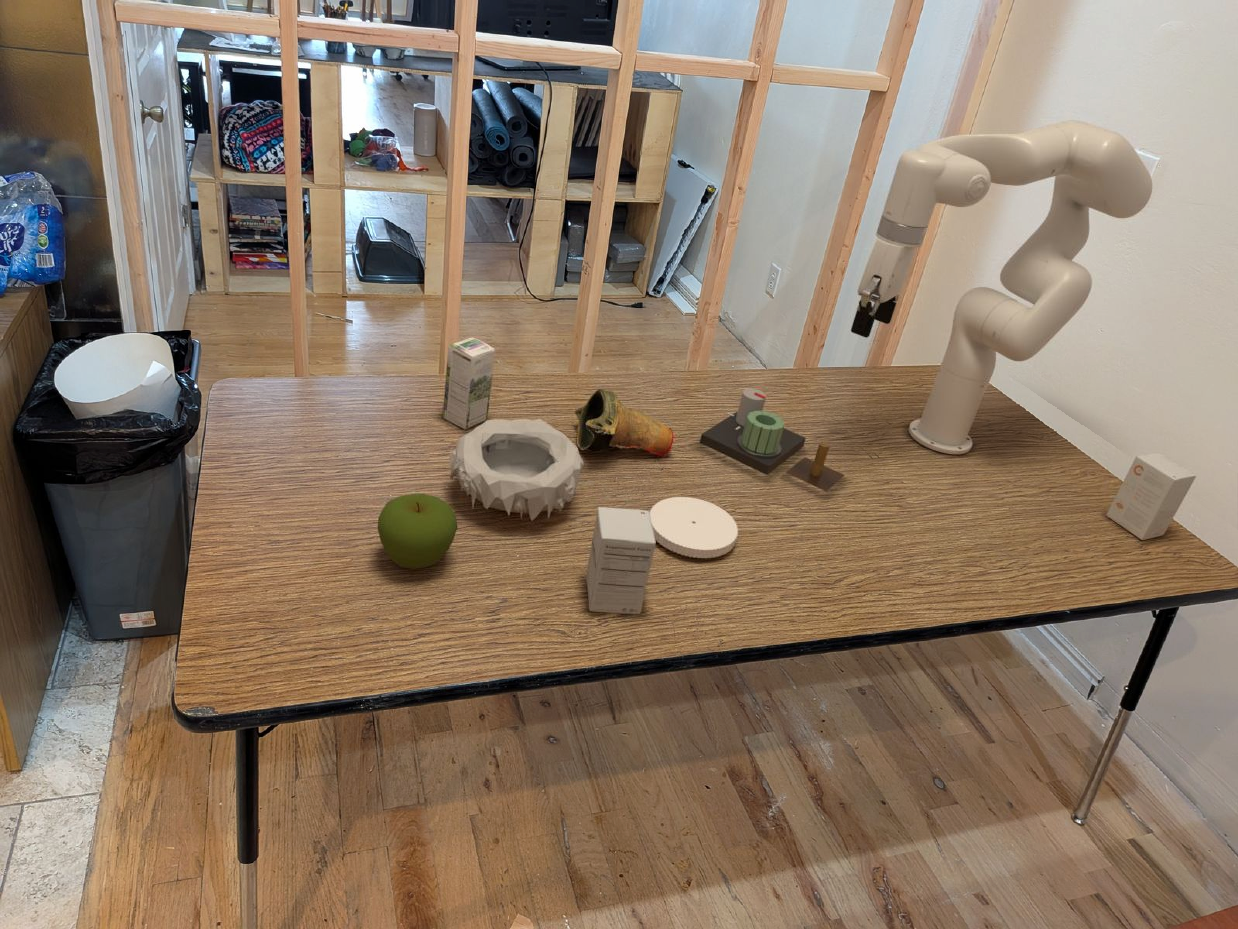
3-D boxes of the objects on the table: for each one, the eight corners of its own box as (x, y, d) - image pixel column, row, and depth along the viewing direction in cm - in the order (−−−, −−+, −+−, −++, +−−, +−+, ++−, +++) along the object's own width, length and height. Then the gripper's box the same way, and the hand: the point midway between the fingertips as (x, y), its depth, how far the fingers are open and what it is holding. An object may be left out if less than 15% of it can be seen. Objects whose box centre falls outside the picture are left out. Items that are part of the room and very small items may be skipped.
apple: (417, 596, 122) (420, 535, 117) (359, 562, 126) (359, 502, 121) (470, 559, 130) (475, 501, 125) (414, 528, 134) (417, 470, 129)
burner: (750, 430, 170) (750, 428, 170) (788, 448, 166) (789, 445, 166) (728, 445, 164) (729, 442, 164) (768, 463, 160) (768, 460, 160)
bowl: (601, 492, 150) (610, 439, 145) (540, 555, 133) (548, 498, 128) (492, 450, 156) (497, 397, 151) (421, 504, 139) (424, 448, 134)
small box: (1163, 536, 167) (1198, 475, 160) (1141, 541, 164) (1175, 480, 157) (1126, 510, 173) (1158, 451, 166) (1104, 515, 170) (1135, 455, 163)
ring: (752, 430, 169) (758, 406, 166) (783, 445, 166) (790, 421, 163) (734, 442, 164) (740, 418, 161) (766, 457, 161) (773, 433, 158)
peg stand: (803, 462, 169) (813, 428, 165) (842, 480, 166) (854, 446, 162) (784, 477, 163) (794, 442, 159) (824, 497, 160) (836, 461, 156)
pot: (696, 427, 155) (602, 390, 148) (671, 488, 156) (576, 455, 150) (661, 408, 171) (574, 374, 164) (638, 464, 172) (551, 433, 166)
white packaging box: (584, 577, 131) (597, 504, 124) (635, 581, 132) (651, 509, 125) (587, 612, 124) (600, 537, 118) (641, 616, 125) (657, 542, 119)
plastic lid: (745, 564, 139) (749, 551, 138) (655, 562, 136) (658, 549, 135) (721, 511, 151) (725, 498, 150) (638, 508, 148) (641, 495, 146)
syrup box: (464, 408, 166) (470, 335, 159) (488, 421, 164) (496, 347, 156) (442, 418, 162) (446, 343, 155) (466, 431, 160) (472, 355, 152)
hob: (734, 420, 179) (738, 405, 178) (802, 451, 173) (806, 436, 171) (694, 446, 168) (697, 431, 166) (765, 480, 161) (769, 465, 160)
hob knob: (731, 421, 172) (738, 391, 169) (742, 414, 175) (750, 384, 172) (751, 430, 170) (759, 400, 167) (762, 423, 173) (770, 393, 170)
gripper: (898, 216, 158) (869, 309, 167) (860, 232, 145) (830, 332, 154) (940, 229, 155) (907, 323, 164) (904, 247, 142) (871, 348, 151)
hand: (870, 327), depth 159 cm, fingers open, 9 cm apart
